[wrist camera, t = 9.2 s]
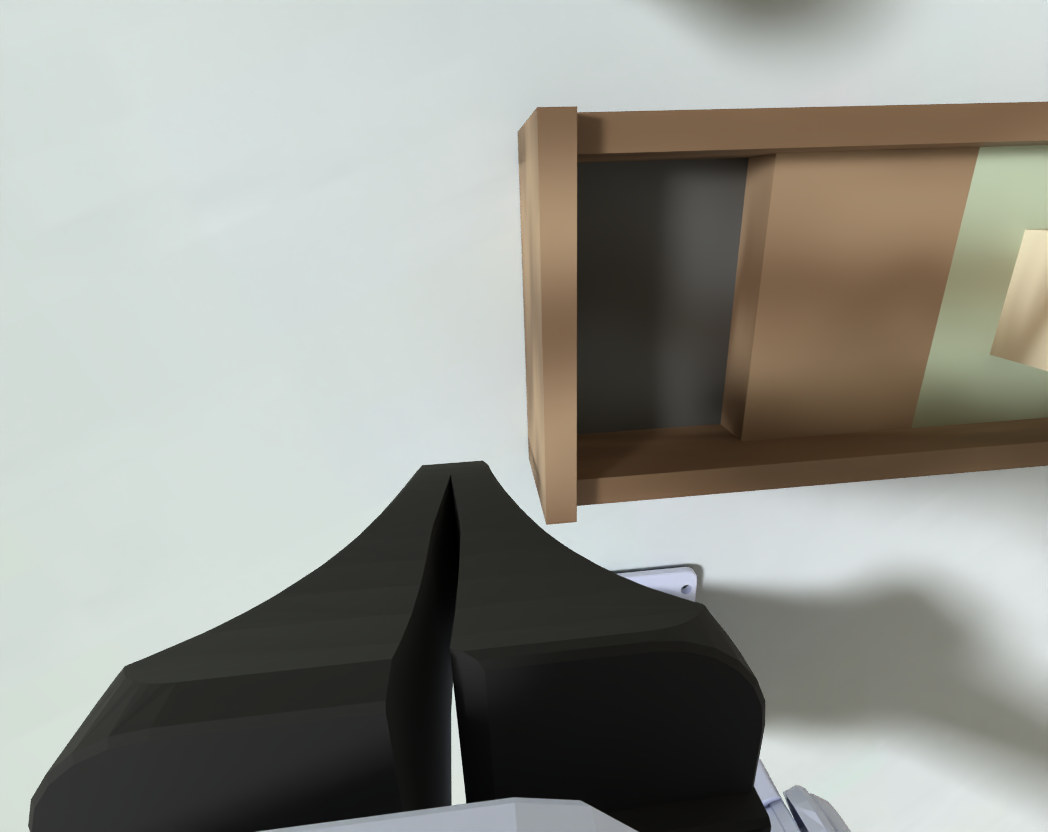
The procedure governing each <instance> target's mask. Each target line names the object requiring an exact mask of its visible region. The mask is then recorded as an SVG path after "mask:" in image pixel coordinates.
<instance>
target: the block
mask: <svg viewBox="0 0 1048 832" xmlns="http://www.w3.org/2000/svg"><path fill="white" fill-rule="evenodd" d="M990 355H993V356H996V357H1000V358H1003V359H1007V360H1010V361H1014V362H1017V363H1021V364H1024V365H1028V366H1031V367H1035V368H1038V369H1042V370H1045V371H1048V229H1026V230H1025V232H1024V236H1023V239H1022V243H1021V246H1020V250H1019V253H1018V257H1017V260H1016V264H1015V267H1014V271H1013V274H1012V278H1011V281H1010V285H1009V288H1008V292H1007V295H1006V299H1005V302H1004V306H1003V309H1002V313H1001V316H1000V320H999V323H998V327H997V330H996V334H995V337H994V341H993V344H992V348H991V351H990Z"/></svg>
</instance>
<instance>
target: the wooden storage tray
mask: <svg viewBox="0 0 1048 832" xmlns="http://www.w3.org/2000/svg"><path fill="white" fill-rule="evenodd" d="M518 152H519V181H520V210H521V240H522V269H523V298H524V328H525V357H526V386H527V415H528V445H529V460H530V464H531V468H532V472H533V476H534V479H535V483H536V487H537V491H538V494H539V498H540V502H541V506H542V510H543V513H544V517H545V521H546V525H547V524H558V523H570V522H577V506H580V505H591V504H603V503H615V502H626V501H638V500H650V499H661V498H673V497H685V496H696V495H708V494H720V493H731V492H743V491H755V490H766V489H778V488H790V487H801V486H813V485H825V484H836V483H848V482H860V481H871V480H883V479H895V478H906V477H918V476H930V475H941V474H953V473H965V472H976V471H988V470H1000V469H1011V468H1023V467H1034V466H1046V465H1048V371H1045V370H1042V369H1038V368H1035V367H1031V366H1028V365H1024V364H1021V363H1017V362H1014V361H1010V360H1007V359H1003V358H1000V357H996V356H993V355H990V351H991V348H992V344H993V341H994V337H995V334H996V330H997V327H998V323H999V320H1000V316H1001V313H1002V309H1003V306H1004V302H1005V299H1006V295H1007V292H1008V288H1009V285H1010V281H1011V278H1012V274H1013V271H1014V267H1015V264H1016V260H1017V257H1018V253H1019V250H1020V246H1021V243H1022V239H1023V236H1024V232H1025V230H1026V229H1048V102H1018V103H974V104H930V105H886V106H843V107H799V108H755V109H712V110H668V111H624V112H580V113H577V107H537V108H536V110H535V111H534V112H533V113H532V115H531V116H530V117H529V118H528V120H527V121H526V122H525V123H524V125H523V126H522V127H521V129H520V130H519V131H518Z"/></svg>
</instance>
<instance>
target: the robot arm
mask: <svg viewBox="0 0 1048 832" xmlns="http://www.w3.org/2000/svg"><path fill="white" fill-rule="evenodd" d="M685 585H688V586H687V587H686V588H683V589H681V588H682V587H683V586H685ZM696 588H697V575H696V573H695V572H694V570H693V569H692V568H690V567H679V568H669V569H658V570H648V571H638V572H628V573H617V574H615V573H613V572H611V571H609V570H607V569H605V568H603V567H601V566H599V565H597V564H595V563H593V562H591V561H590V560H588V559H586V558H584V557H583V556H581V555H579V554H577V553H575V552H574V551H572V550H571V549H569V548H568V547H566V546H564V545H563V544H561V543H560V542H559V541H557V540H556V539H555V538H553V537H552V536H550V535H549V534H548V533H546V532H545V531H544V530H543V529H542V528H541V527H539V526H538V525H537V524H536V523H535V522H534V521H533V520H532V519H531V518H530V517H529V516H528V515H527V514H526V513H525V512H524V511H523V510H522V509H521V508H520V507H519V506H518V505H517V504H516V503H515V502H514V500H513V499H512V498H511V497H510V496H509V495H508V494H507V492H506V491H505V490H504V489H503V487H502V486H501V485H500V483H499V482H498V481H497V479H496V478H495V476H494V475H493V473H492V472H491V470H490V468H489V466H488V465H487V464H486V463H485V462H484V461H472V462H460V463H447V464H434V465H422V466H421V468H420V469H419V470H418V471H417V472H416V473H415V474H414V476H413V477H412V478H411V479H410V481H409V482H408V483H407V484H406V486H405V487H404V488H403V489H402V490H401V492H400V493H399V494H398V495H397V496H396V498H395V499H394V500H393V501H392V502H391V503H390V504H389V505H388V507H387V508H386V509H385V510H384V511H383V512H382V513H381V514H380V515H379V516H378V517H377V518H376V519H375V520H374V521H373V522H372V523H371V524H370V525H369V526H368V527H367V528H366V529H365V530H364V531H363V532H362V533H361V534H360V535H359V536H358V537H357V538H356V539H354V540H353V541H352V542H351V543H350V544H349V545H347V546H346V547H345V548H344V549H343V550H341V551H340V552H339V553H337V554H336V555H335V556H334V557H332V558H331V559H330V560H328V561H327V562H326V563H324V564H323V565H322V566H320V567H319V568H318V569H316V570H314V571H313V572H311V573H310V574H308V575H307V576H305V577H304V578H302V579H301V580H299V581H297V582H296V583H294V584H293V585H291V586H290V587H288V588H287V589H285V590H284V591H282V592H280V593H279V594H277V595H276V596H274V597H272V598H270V599H269V600H267V601H265V602H263V603H261V604H260V605H258V606H256V607H254V608H252V609H251V610H249V611H247V612H245V613H243V614H241V615H239V616H237V617H235V618H233V619H231V620H229V621H227V622H225V623H223V624H221V625H219V626H217V627H215V628H213V629H211V630H209V631H207V632H205V633H203V634H200V635H198V636H196V637H193V638H191V639H189V640H186V641H184V642H182V643H179V644H177V645H175V646H172V647H170V648H168V649H165V650H163V651H161V652H158V653H156V654H154V655H151V656H149V657H147V658H144V659H142V660H139V661H137V662H134V663H132V664H129V665H127V666H125V667H124V668H123V669H122V671H121V672H120V673H119V674H118V676H117V677H116V678H115V680H114V681H113V682H112V684H111V685H110V686H109V688H108V689H107V690H106V692H105V693H104V694H103V696H102V697H101V698H100V700H99V701H98V702H97V704H96V705H95V707H94V708H93V709H92V711H91V712H90V714H89V715H88V716H87V718H86V719H85V721H84V722H83V723H82V725H81V726H80V728H79V729H78V730H77V732H76V733H75V735H74V736H73V737H72V739H71V740H70V742H69V743H68V744H67V746H66V747H65V749H64V750H63V751H62V753H61V754H60V756H59V757H58V758H57V760H56V761H55V763H54V764H53V765H52V767H51V768H50V770H49V771H48V772H47V774H46V775H45V777H44V779H43V780H42V782H41V784H40V785H39V787H38V789H37V790H36V792H35V794H34V796H33V797H32V799H31V805H30V814H29V824H28V827H29V830H30V832H851V831H850V830H849V828H848V827H847V825H846V824H845V822H844V821H843V820H842V818H841V817H840V815H839V814H838V813H837V811H836V810H835V809H834V808H833V806H832V805H831V804H830V803H829V802H828V801H826V800H824V799H822V798H820V797H818V796H816V795H814V794H811V793H810V794H809V793H808V791H807V790H806V789H805V788H803V787H801V786H799V785H795V786H794V787H792V788H790V789H788V790H786V791H785V792H783V794H784V796H785V799H786V802H787V804H788V807H789V809H790V811H791V813H792V815H793V817H792V815H791V814H790V812H789V810H788V809H787V807H786V806H785V804H784V802H783V800H782V799H781V796H780V794H779V793H778V791H777V789H776V787H775V785H774V783H773V781H772V780H771V778H770V776H769V774H768V772H767V770H766V768H765V767H764V765H763V763H762V761H761V760H760V759H759V755H760V749H761V744H762V738H763V733H764V727H765V699H764V697H763V694H762V691H761V689H760V686H759V684H758V681H757V679H756V677H755V676H754V674H753V672H752V671H751V669H750V668H749V666H748V664H747V663H746V661H745V660H744V658H743V656H742V655H741V653H740V652H739V650H738V649H737V647H736V646H735V645H734V643H733V642H732V640H731V639H730V638H729V636H728V635H727V633H726V632H725V631H724V630H723V628H722V627H721V626H720V625H719V624H718V622H717V621H716V620H715V619H714V618H713V616H712V615H711V614H710V612H709V611H708V610H707V608H706V607H705V606H704V605H703V604H700V603H697V602H695V598H696ZM453 684H454V693H455V702H456V711H457V720H458V729H459V739H460V748H461V757H462V766H463V775H464V784H465V794H466V804H460V805H453V806H451V705H452V687H453ZM793 818H794V819H793Z"/></svg>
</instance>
